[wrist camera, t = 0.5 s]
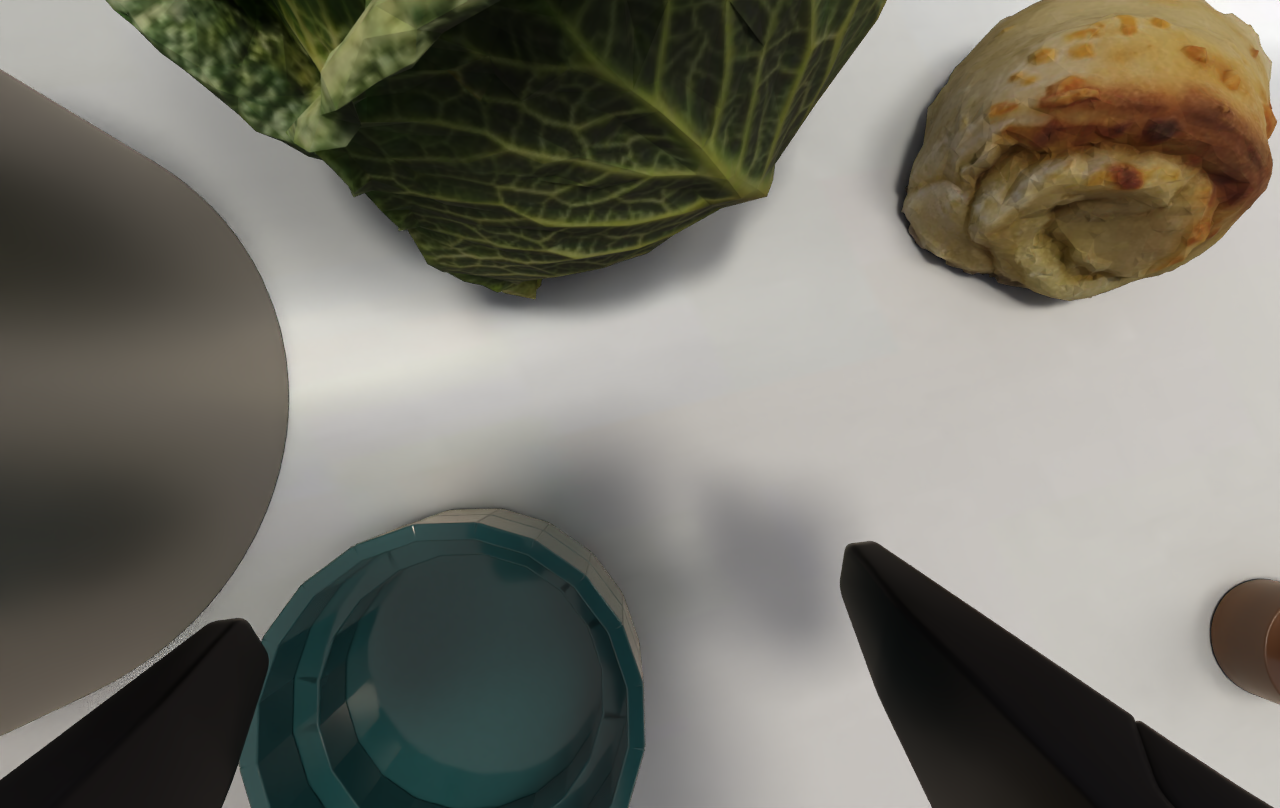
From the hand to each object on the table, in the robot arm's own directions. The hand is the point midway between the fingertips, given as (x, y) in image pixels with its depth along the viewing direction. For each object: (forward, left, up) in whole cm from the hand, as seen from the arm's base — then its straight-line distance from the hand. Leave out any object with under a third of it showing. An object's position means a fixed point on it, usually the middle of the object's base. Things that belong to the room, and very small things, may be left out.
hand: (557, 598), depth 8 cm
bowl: (-3, +8, -15) cm, 17 cm away
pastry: (-1, -25, -15) cm, 29 cm away
